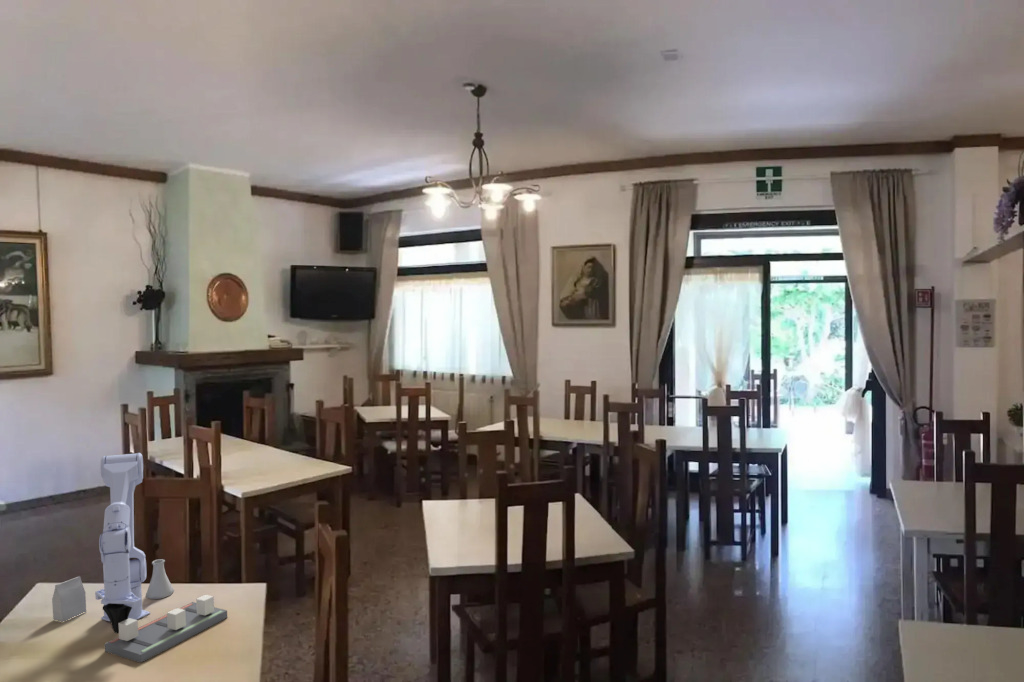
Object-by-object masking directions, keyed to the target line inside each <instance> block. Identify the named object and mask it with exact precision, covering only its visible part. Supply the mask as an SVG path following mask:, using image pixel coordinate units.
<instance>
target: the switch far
mask: <svg viewBox="0 0 1024 682" xmlns="http://www.w3.org/2000/svg"><path fill="white" fill-rule="evenodd" d="M214 601H215V599H214V596H212V595H210V594H209V595H208V594H204V595H202V596H199V597H197V598H196V601H195V603H197V614H201V615H207V614H209V613H211V612H213V611H214V607H215V602H214Z"/></svg>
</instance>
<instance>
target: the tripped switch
mask: <svg viewBox="0 0 1024 682" xmlns="http://www.w3.org/2000/svg"><path fill="white" fill-rule="evenodd" d="M138 621H139V619H137V620H135V619H131V618H128V619H126V620H124V621H122V622H120V623H118V625H119V633H118V637H119V639H122V640H125V641H129V640H131V639H133V638H135V637H137V636H138V628H139V622H138Z"/></svg>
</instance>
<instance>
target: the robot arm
mask: <svg viewBox="0 0 1024 682" xmlns="http://www.w3.org/2000/svg"><path fill="white" fill-rule="evenodd" d="M100 475H101V478H102V481H103V483H104V485H105V487H108V488H109V492H110V493H109V494H110V498H109V499H110V505H108V506H107V507H106V508H105V510H104V515H103V516H104V517H103V518H104V519H103V529H102V533H100V535H99V540H98V545H99V546H98V547H99V548H98V549H99V552H100V560H101V564H103V565H102V568H103V569H102V570H103V571H102V572H103V588H101V589H98V590H96V591H95V593H94V594H95V596H94V597H95V600H98V601H99V600H100V604H102V611H103V616H101V617H100V619H101V620H102V621H106V622H110V624H111V627H112V629H113V632H114V634H119V625H118V623H120V622H122V621H124V620H126V619H128V618H131V619H135V620H139V619H141V618H144V617H147V616H148V615H150V614H151V613H150V612H151V611H148V610H145V609H143V597H142V596H143V595H142V594H143V593H142V592H143V591H142V583H144V582H145V581H146V579H147V560H146V554H145V552H144V551H143V550H141V549H139V548H138V547H136V546H135V514H134V513H135V512H134V511H135V509H134V508H135V506H134V505H135V503H134V502H135V499H134V497H135V496H134V494H135V490H136V486H138V485H140V484H141V483H143V479H144V458H143V454H142V453H141V452H137V453H125V454H116V455H115V454H113V455H103V456H102V457H101V458H100Z"/></svg>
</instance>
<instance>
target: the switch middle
mask: <svg viewBox="0 0 1024 682" xmlns="http://www.w3.org/2000/svg"><path fill="white" fill-rule="evenodd" d="M166 614H167V622H168V628H170V629H173V630H177V629H179V628H181V627H183V626H185V625H186V613H185V610H183V609H179V608H178V607H176V608H174V609H172V610H169V611H167V613H166Z"/></svg>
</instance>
